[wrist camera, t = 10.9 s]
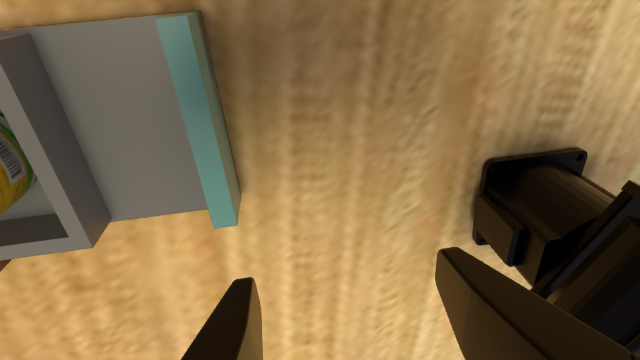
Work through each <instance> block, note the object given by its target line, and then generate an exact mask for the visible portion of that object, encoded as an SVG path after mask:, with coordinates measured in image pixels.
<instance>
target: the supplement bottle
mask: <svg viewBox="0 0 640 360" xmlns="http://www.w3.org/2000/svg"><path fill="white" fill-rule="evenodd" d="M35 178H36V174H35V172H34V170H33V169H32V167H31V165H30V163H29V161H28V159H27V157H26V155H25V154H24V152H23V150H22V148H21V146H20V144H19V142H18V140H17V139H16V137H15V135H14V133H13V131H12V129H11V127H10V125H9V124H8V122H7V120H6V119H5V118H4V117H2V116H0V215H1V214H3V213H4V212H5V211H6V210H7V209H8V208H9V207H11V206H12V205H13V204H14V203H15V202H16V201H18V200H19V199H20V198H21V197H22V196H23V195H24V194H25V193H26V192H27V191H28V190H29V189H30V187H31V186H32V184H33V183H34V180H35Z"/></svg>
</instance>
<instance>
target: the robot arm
mask: <svg viewBox="0 0 640 360" xmlns="http://www.w3.org/2000/svg"><path fill="white" fill-rule="evenodd" d="M577 156H578V157H577ZM576 157H577V158H576ZM586 159H587V152H586V151H584V150H582V149H580V148H573V149H565V150H558V151H550V152H542V153H535V154H527V155H519V156H512V157H504V158H497V159H491V160H489V161H487V162H486V164H485V165H484V169H483V175H482V181H481V188H480V193H479V194H478V197H477V204H476V210H475V217H474V223H473V225H474V232H473V240H474V241H475V243H476V244H477V245H488V244H489V245H490V246H491V247H492V249H493V250H494V251H495V252H496V253H497V255H498V256H499V257H500V258H501V259H502V261H503V262H504V263H505V264H506V265H507V266H509V267H513V266H514V267H515V268H516V269H517V270H518V271H519V272H520V274H521V275H522V276H523V277H524V278H525V279H526V281H527V282H528V283H529V284H530V285H531V286H532V288H531V290H528V289H527V288H525V287H523V286H522V285H520V284H518V283H517V282H515V281H513V280H512V279H510V278H508V277H507V276H505V275H503V274H502V273H500V272H498V271H497V270H495V269H493V268H492V267H490V266H488V265H487V264H485V263H483V262H482V261H480V260H478V259H477V258H475V257H473V256H472V255H470V254H468V253H467V252H465V251H463V250H462V249H460V248H458V247H450V248H443V249H440V250H439V251H438V253H437V262H436V272H435V281H436V285H437V288H438V291H439V294H440V296H441V299H442V302H443V304H444V307H445V310H446V312H447V315H448V318H449V320H450V323H451V326H452V328H453V331H454V334H455V336H456V339H457V342H458V344H459V347H460V349H461V351H462V353H463V356H464V358H465V360H640V185H639V184H637V183H635V182H633V181H631V180H629V181H628V182H627V183H626V184H625V185H624V186H623V187H622V188H621V189H622V191H621V193H620V194H619V195H618V196H617V197H616V196H615V195H613V194H612V193H610V192H608V191H607V190H605V189H604V188H602V187H600V186H599V185H597V184H595V183H594V182H592V181H591V180H589V179H587V178H586V177H584V176H583V175H582V172H583V169H584V165H585V162H586ZM493 166H495V168H494V169H492V170H491V168H492V167H493ZM481 237H482V238H481ZM480 238H481V239H480ZM181 360H263V345H262V317H261V306H260V301H259V296H258V292H257V288H256V284H255V280H254V279H253V278H252V277H248V278H241V279H236V280H234V281H233V282H232V284H231V285H230V287H229V288H228V290H227V291H226V293H225V294H224V296H223V297H222V299H221V300H220V302H219V303H218V305H217V306H216V308H215V309H214V311H213V312H212V314H211V315H210V317H209V318H208V320H207V321H206V323H205V324H204V326H203V327H202V329H201V330H200V332H199V333H198V335H197V336H196V338H195V339H194V341H193V342H192V344H191V345H190V347H189V348H188V350H187V351H186V353H185V354H184V356H183V357H182V359H181Z"/></svg>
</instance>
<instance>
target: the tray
mask: <svg viewBox="0 0 640 360" xmlns="http://www.w3.org/2000/svg"><path fill="white" fill-rule="evenodd" d="M0 116H2V117H4V118H5V119H6V120H7V122H8V124H9V125H10V127H11V129H12V131H13V133H14V135H15V137H16V139H17V140H18V142H19V144H20V146H21V148H22V150H23V152H24V154H25V155H26V157H27V159H28V161H29V163H30V165H31V167H32V169H33V170H34V172H35V174H36V178H35V180H34V183H33V184H32V186H31V187H30V189H29V190H28V191H27V192H26V193H25V194H24V195H23V196H22V197H21V198H20V199H19V200H18V201H16V202H15V203H14V204H13V205H12V206H11V207H9V208H8V209H7V210H6V211H5V212H4V213H3V214H1V215H0V261H1V260H8V259H16V258H23V257H30V256H37V255H45V254H52V253H59V252H66V251H74V250H81V249H88V248H93V247H94V245H95V244H96V242H97V241H98V239H99V238H100V236H101V235H102V233H103V232H104V230H105V229H106V227H107V226H108V224H109V223H110V222H115V221H123V220H130V219H138V218H145V217H153V216H160V215H168V214H175V213H183V212H190V211H198V210H205V209H209V213H210V217H211V220H212V224H213V227H214V229H216V228H223V227H231V226H237V224H238V216H239V209H240V202H241V192H240V188H239V183H238V179H237V174H236V170H235V165H234V161H233V156H232V152H231V147H230V143H229V138H228V134H227V129H226V125H225V120H224V116H223V111H222V107H221V102H220V98H219V93H218V89H217V84H216V80H215V75H214V71H213V66H212V62H211V57H210V53H209V48H208V44H207V39H206V35H205V30H204V26H203V21H202V17H201V12H200V10H195V11H185V12H175V13H165V14H155V15H144V16H134V17H124V18H114V19H104V20H94V21H83V22H73V23H63V24H53V25H43V26H33V27H22V28H12V29H2V30H0Z"/></svg>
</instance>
